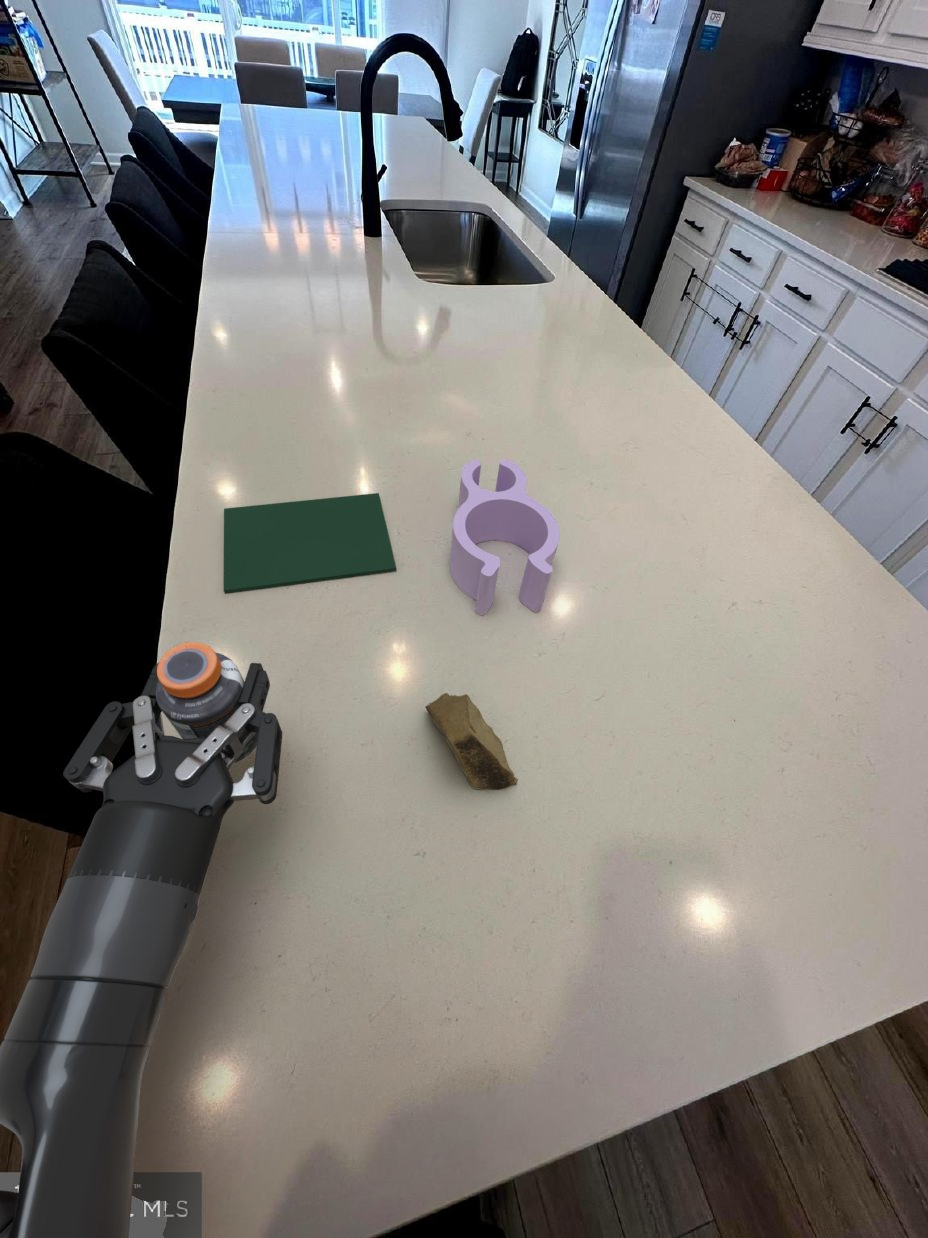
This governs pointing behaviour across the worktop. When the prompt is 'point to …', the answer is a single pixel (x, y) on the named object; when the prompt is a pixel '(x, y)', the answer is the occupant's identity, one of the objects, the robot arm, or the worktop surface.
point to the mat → (305, 542)
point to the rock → (472, 742)
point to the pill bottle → (199, 691)
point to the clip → (501, 535)
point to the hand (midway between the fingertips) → (216, 665)
